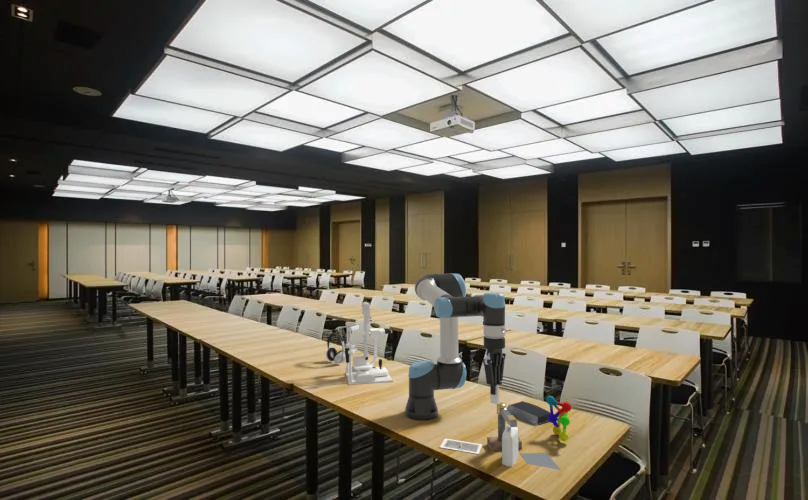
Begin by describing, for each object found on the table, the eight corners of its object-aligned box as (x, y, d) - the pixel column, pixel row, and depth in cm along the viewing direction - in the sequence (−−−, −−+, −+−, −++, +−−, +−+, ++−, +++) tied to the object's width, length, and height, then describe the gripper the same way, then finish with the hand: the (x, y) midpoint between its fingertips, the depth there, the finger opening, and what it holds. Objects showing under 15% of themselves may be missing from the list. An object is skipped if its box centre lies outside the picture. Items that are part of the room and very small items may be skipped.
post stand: (490, 451, 155) (490, 416, 155) (487, 444, 160) (487, 411, 160) (521, 449, 155) (521, 415, 156) (517, 443, 160) (517, 410, 160)
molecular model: (541, 429, 172) (541, 394, 171) (562, 427, 173) (563, 393, 172) (557, 449, 157) (558, 411, 156) (581, 447, 158) (582, 410, 157)
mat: (534, 475, 138) (534, 474, 138) (520, 454, 152) (520, 453, 152) (563, 473, 139) (563, 472, 139) (546, 453, 153) (546, 452, 153)
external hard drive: (535, 426, 177) (535, 417, 177) (504, 412, 193) (504, 404, 193) (554, 420, 183) (554, 411, 183) (523, 407, 199) (523, 399, 199)
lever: (495, 411, 159) (495, 402, 159) (504, 411, 159) (504, 402, 159) (508, 429, 143) (508, 419, 143) (519, 429, 144) (518, 418, 144)
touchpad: (444, 441, 164) (444, 435, 164) (482, 447, 159) (482, 441, 159) (439, 450, 157) (439, 444, 157) (478, 456, 151) (478, 451, 151)
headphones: (323, 360, 284) (322, 331, 284) (333, 358, 290) (333, 330, 290) (338, 366, 270) (338, 335, 270) (349, 363, 276) (349, 334, 276)
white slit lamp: (394, 381, 238) (393, 304, 238) (347, 385, 232) (347, 305, 232) (386, 369, 261) (386, 299, 261) (344, 372, 255) (344, 300, 255)
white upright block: (508, 453, 153) (507, 420, 153) (519, 455, 151) (519, 422, 151) (500, 466, 144) (500, 430, 144) (512, 469, 142) (512, 433, 142)
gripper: (494, 340, 139) (495, 410, 138) (512, 335, 149) (513, 400, 148) (475, 338, 144) (476, 405, 143) (493, 332, 153) (494, 395, 153)
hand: (494, 402), depth 146 cm, fingers closed
